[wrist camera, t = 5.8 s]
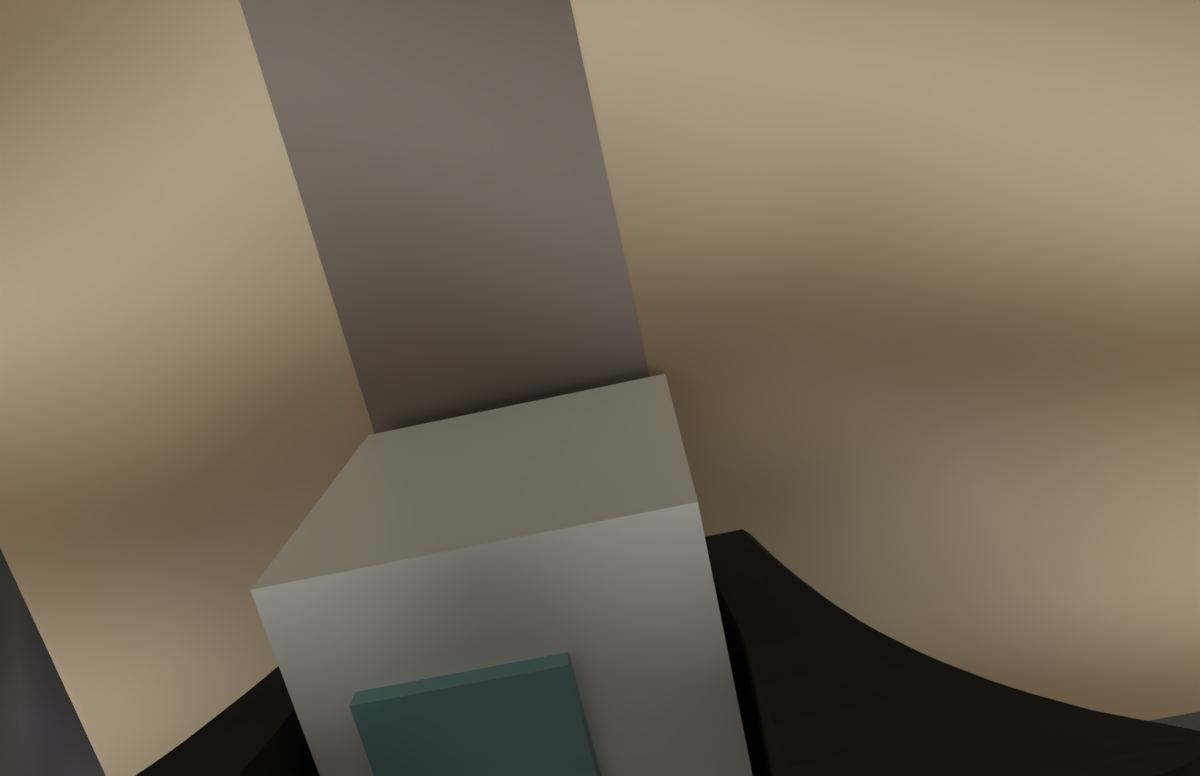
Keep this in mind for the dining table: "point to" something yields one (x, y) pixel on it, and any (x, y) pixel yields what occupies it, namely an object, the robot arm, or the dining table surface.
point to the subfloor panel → (609, 305)
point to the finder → (510, 600)
